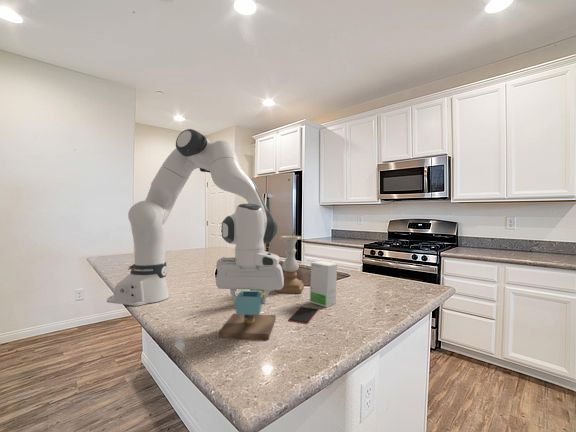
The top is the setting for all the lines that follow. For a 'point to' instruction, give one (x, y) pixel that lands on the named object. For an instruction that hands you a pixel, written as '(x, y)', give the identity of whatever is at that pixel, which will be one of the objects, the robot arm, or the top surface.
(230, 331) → the post stand
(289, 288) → the candle holder
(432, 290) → the top surface
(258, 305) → the teal collar
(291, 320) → the smartphone
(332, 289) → the skincare box
